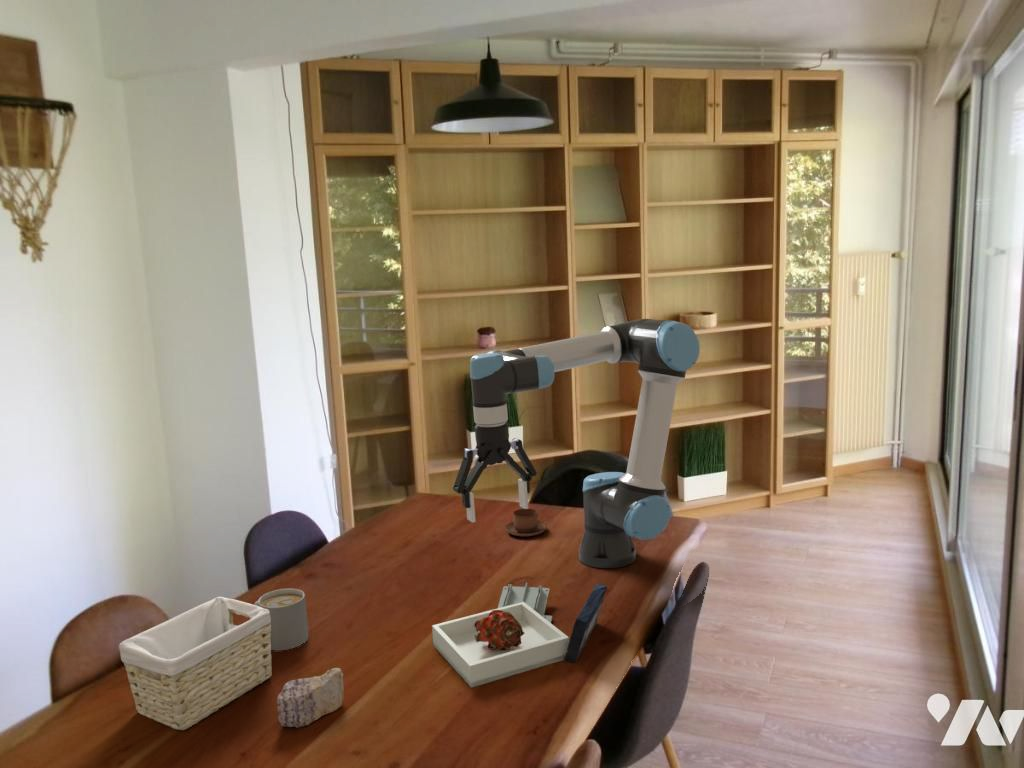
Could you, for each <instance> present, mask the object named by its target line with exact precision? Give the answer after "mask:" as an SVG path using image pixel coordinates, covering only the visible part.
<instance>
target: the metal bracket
mask: <svg viewBox="0 0 1024 768" xmlns="http://www.w3.org/2000/svg"><path fill="white" fill-rule="evenodd" d="M507 585H508V586H507ZM507 585H504V586H503V587H502V592H501V595H500V598H499V601H498V606H497V608H501V607H505V606H509V605H513V604H517V603H520V602H525V603H526V604H527V605H528V606H530V607H531V608H532V609H533V610H535V611H536V612H537V613H538V614H540V615H541V616H542V617H544V618H545V619H546V620H547V621H549V622H550V623H551V624H552V620H553V615H545V612H546V608H547V607H546V606H547V602H548V599H549V593H550V587H543V585H538V587H535V586H534V587H533V586H532V587H531V586H528V582H525V585H524V586H513V584H511V583H508V584H507Z"/></svg>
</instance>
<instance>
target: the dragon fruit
mask: <svg viewBox="0 0 1024 768" xmlns="http://www.w3.org/2000/svg"><path fill="white" fill-rule="evenodd" d="M491 610H492V612H490V614H489V616H487V617H483V618H482V619H480V620H477V621H476V622H475V625H474V626H475V627H476V630H477V632H478V631H480V633H478V634H477V635H475V640H476V642H479V641H481V642H488V648H489V649H490V650H495V649H496V648H498V647H499V649H500V650H502V651H506V650H510V648H511V646H513V647H517V646H519V645H520V644H521V636H522V635H523V634H525V633H524V632H523V630H522V627H521V625H520V623H519V622H518V621H517V620H516V619H515V617H514V616H513V615H512V614H511V613H509V612H503V611H502V610H493V609H491ZM472 627H473V626H472Z"/></svg>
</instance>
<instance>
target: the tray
mask: <svg viewBox="0 0 1024 768" xmlns="http://www.w3.org/2000/svg"><path fill="white" fill-rule="evenodd" d="M492 610H502V611H503V612H509V613H511V614H512V615H513V616H514V617H515V619H516V620H517V621H518V622H519V623H520V625H521V627H522V630H523V632H524V633H525V634H523V635H522V636H521V644H520V645H519V646H517V647H513V646H511V648H510V650H506V651H502V650H500V649H499V647H498V648H496V649H495V650H490V649H489V648H488V642H481V641H479V642H476V640H475V635H477V634H478V633H480V631H478V632H477V630H476V627H475V626H474V625H475V622H476V621H477V620H480V619H482V618H483V617H487V616H489V614H490V612H492ZM472 626H473V627H472ZM431 628H432V629H431V630H432V631H431V632H432V633H431V634H432V642H433V643H432V646H433V647H434V648H435V649H436V650H437V651H438V652H439V654H441V656H442V657H443V658H444V659H445V660H446V661H447V662H448V663H449V665H450V666H451V667H452V668H453V669H454V670H455V671H456V673H457V674H458V675H459V676H460V677H461V679H463V680H464V682H466V683H467V685H468V686H469V687H470V688H475V687H478V686H479V687H480V686H482V685H485V684H488V683H491V682H495V681H497V680H501V679H505V678H509V677H512V676H514V675H518V674H521V673H525V672H529V671H532V670H535V669H537V668H541V667H544V666H548V665H551V664H554V663H559V662H561V661H565V660H564V658H565V656H566V652H567V648H568V645H569V641H570V637H569V636H568V635H566V634H565V633H564V632H563V631H561V630H560V629H559V628H557V626H555V625H554V624H552V622H551V623H550V622H549V621H547V620H546V619H545V618H544V617H542V616H541V615H540V614H538V613H537V612H536V611H535V610H533V609H532V608H531V607H530V606H528V605H527V604H526V603H525V602H520V603H517V604H513V605H509V606H505V607H501V608H498V607H497V608H495V609H494V608H493V609H490V610H485V611H482V612H478V613H475V614H471V615H467V616H463V617H459V618H455V619H452V620H447V621H445V622H440V623H436V624H433V625H431Z"/></svg>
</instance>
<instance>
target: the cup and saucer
mask: <svg viewBox="0 0 1024 768" xmlns="http://www.w3.org/2000/svg"><path fill="white" fill-rule="evenodd" d="M512 518H513V521H511V522H509V523H507V524H506V526H505V530H506V531H507V532H508V533H509V534H510V535H513V536H517V537H532V536H537V535H540V534H542V533H543V532H545V530H547V524H546V523H545V522H543V521H541V520H539V512H538V510H536V509H533V508H528V509H524V508H519V509H516V510H514V511H513V513H512Z"/></svg>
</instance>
